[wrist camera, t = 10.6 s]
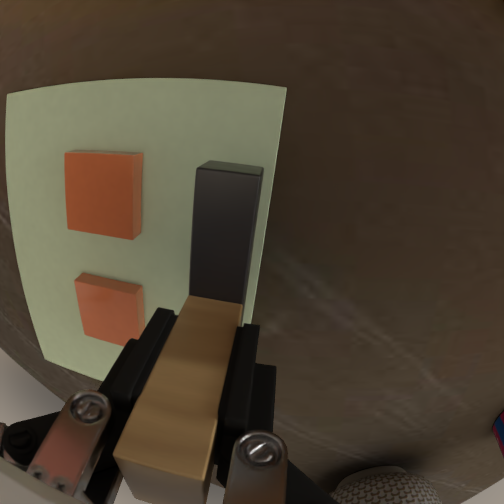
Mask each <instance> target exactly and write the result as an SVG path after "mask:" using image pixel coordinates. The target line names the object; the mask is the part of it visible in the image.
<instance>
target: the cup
mask: <svg viewBox="0 0 504 504" xmlns="http://www.w3.org/2000/svg"><path fill="white" fill-rule="evenodd" d="M493 432H494V435H495V437H496V439H497V442H498V444H499V447H500V449H501V452H502V454H503V457H504V411H503V412H502V414H501V415H500V416H499V417H498V419H497V420H496V421H495V423H494V426H493Z"/></svg>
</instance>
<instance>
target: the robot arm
mask: <svg viewBox="0 0 504 504" xmlns="http://www.w3.org/2000/svg"><path fill="white" fill-rule="evenodd" d="M178 316H179V315H175V312H174V310H170V309H166V308H161V307H158V308H157V309H156V311H155V312H154V314H153V316H152V317H151V319H150V321H149V322H148V324H147V326H146V327H145V329H144V331H143V332H142V334H141V336H140V337H139V339H138V340H137V339H133V338H131V339H129V340H128V342H127V343H126V345H125V346H124V348H123V350H122V351H121V353H120V355H119V356H118V358H117V359H116V361H115V363H114V364H113V366H112V368H111V369H110V371H109V373H108V374H107V376H106V378H105V379H104V381H103V383H102V384H101V386H100V388H99V390H98V391H94V390H82V391H79V392H76V393H75V394H73V395H72V396H71V397H70V398H69V399H68V400H67V402H66V403H65V405H64V407H63V408H62V410H61V411H59V412H55V413H52V414H48V415H44V416H41V417H36V418H32V419H28V420H24V421H21V422H16V423H14V424H12V425H10V426H6V424H5V423H0V504H113V503H114V501H115V498H116V495H117V493H118V490H119V487H120V484H121V482H122V479H123V475H122V473H121V471H120V469H119V467H118V465H117V463H116V461H115V459H114V456H113V452H114V450H115V447H116V445H117V443H118V441H119V438H120V436H121V434H122V432H123V429H124V427H125V425H126V423H127V421H128V419H129V416H130V414H131V412H132V410H133V408H134V406H135V403H136V401H137V399H138V397H139V396H140V394H141V392H142V390H143V388H144V386H145V384H146V382H147V379H148V377H149V375H150V373H151V371H152V369H153V367H154V365H155V363H156V361H157V358H158V356H159V354H160V352H161V350H162V348H163V346H164V344H165V342H166V340H167V338H168V336H169V334H170V332H171V330H172V328H173V326H174V324H175V322H176V320H177V318H178ZM259 329H260V325H254V324H248V323H244V326H243V327H240V326H237V329H236V333H235V337H234V342H233V346H232V351H231V355H230V360H229V364H228V368H227V373H226V377H225V382H224V386H223V391H222V395H221V399H220V404H219V408H218V425H217V435H216V446H215V457H214V464H215V465H218V468H217V477H216V478H217V480H218V481H219V482H220V483H221V484H222V485H223V486H224V487H225V494H224V499H223V504H340V503H339V502H337V501H336V500H335V499H334V498H332V497H331V496H330V495H329V494H327V493H326V492H325V491H324V490H322V489H321V488H320V487H319V486H318V485H317V484H315V483H314V482H313V481H312V480H311V479H309V478H308V477H307V476H306V475H305V474H304V473H303V472H301V471H300V470H299V469H298V468H297V467H296V466H295V465H294V464H292V463H291V462H290V461H289V460H288V451H287V446H286V444H285V443H284V441H283V440H282V439H281V438H280V437H279V436H278V435H276V434H274V433H273V419H274V403H275V386H276V366H271V365H264V364H257V363H255V360H256V352H257V344H258V336H259Z"/></svg>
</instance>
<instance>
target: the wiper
mask: <svg viewBox="0 0 504 504" xmlns="http://www.w3.org/2000/svg"><path fill="white" fill-rule="evenodd" d="M263 174H264V168H263V167H260V166H253V165H246V164H238V163H230V162H222V161H214V160H209V161H207V162H206V163H204V164H202V165H201V166H199V167H197V168H196V175H195V187H194V200H193V215H192V230H191V248H190V269H189V296H188V297H187V299H186V301H185V303H184V305H183V307H182V309H181V311H180V313H179V316H178V318H177V320H176V322H175V324H174V326H173V328H172V330H171V332H170V334H169V336H168V338H167V340H166V342H165V344H164V346H163V348H162V350H161V352H160V354H159V356H158V358H157V361H156V363H155V365H154V367H153V369H152V371H151V373H150V375H149V377H148V379H147V382H146V384H145V386H144V388H143V390H142V392H141V394H140V396H139V397H138V399H137V401H136V403H135V406H134V408H133V410H132V412H131V414H130V416H129V419H128V421H127V423H126V425H125V427H124V429H123V432H122V434H121V436H120V438H119V441H118V443H117V445H116V447H115V450H114V452H113V456H114V459H115V461H116V463H117V465H118V467H119V469H120V471H121V473H122V475H123V477H124V479H125V481H126V483H127V485H128V486H129V488H130V490H131V492H132V494H133V496H134V497H135V498H136V499H139V500H142V501H145V502H148V503H152V504H206V501H207V496H208V491H209V487H210V482H211V477H212V472H213V468H214V457H215V446H216V435H217V425H218V408H219V404H220V399H221V395H222V391H223V386H224V382H225V377H226V373H227V368H228V364H229V360H230V355H231V351H232V346H233V342H234V337H235V333H236V329H237V326H240V327H242V322H243V315H244V308H245V301H246V294H247V287H248V280H249V273H250V266H251V259H252V252H253V244H254V237H255V230H256V223H257V216H258V209H259V202H260V195H261V188H262V181H263Z"/></svg>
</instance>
